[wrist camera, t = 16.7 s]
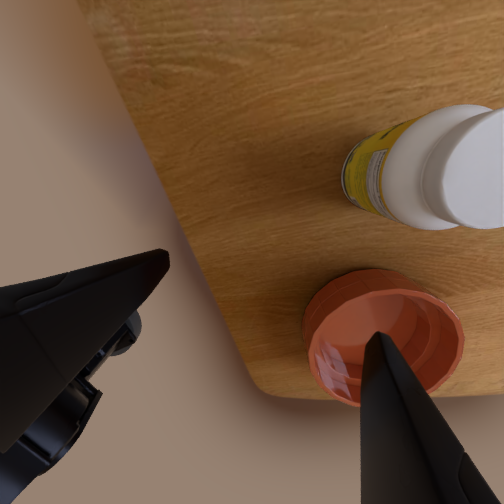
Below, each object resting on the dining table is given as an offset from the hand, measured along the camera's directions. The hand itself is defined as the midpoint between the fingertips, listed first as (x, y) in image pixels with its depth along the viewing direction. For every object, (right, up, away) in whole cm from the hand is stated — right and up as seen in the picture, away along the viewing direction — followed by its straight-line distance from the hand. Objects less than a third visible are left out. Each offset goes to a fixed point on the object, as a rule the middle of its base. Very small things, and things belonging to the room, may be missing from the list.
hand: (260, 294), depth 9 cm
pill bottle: (+10, +8, +10) cm, 17 cm away
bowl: (+11, -6, +15) cm, 20 cm away
